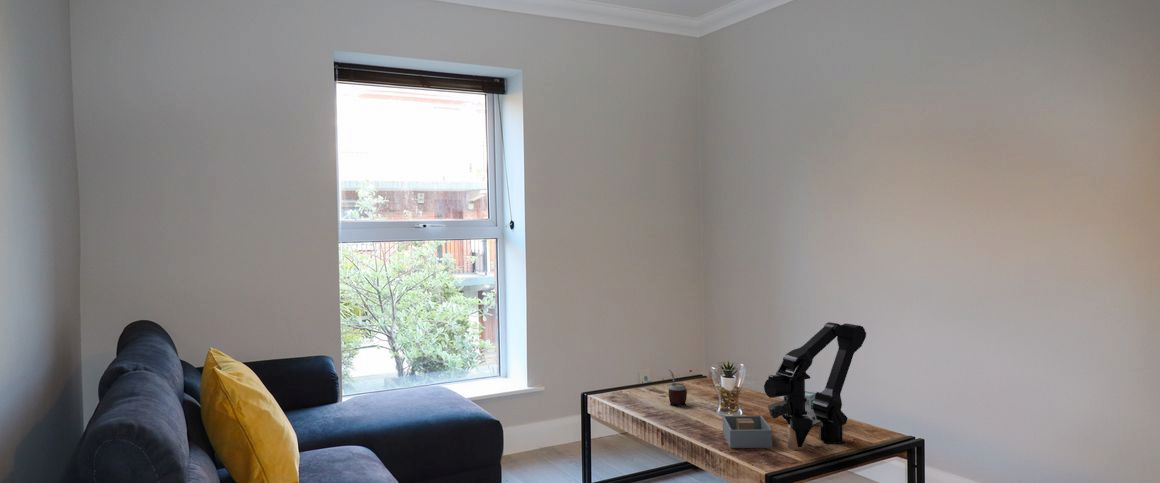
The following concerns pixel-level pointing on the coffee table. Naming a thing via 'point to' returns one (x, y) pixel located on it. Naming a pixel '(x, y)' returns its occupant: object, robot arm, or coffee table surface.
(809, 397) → the light bulb box
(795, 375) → the robot arm
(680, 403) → the mate gourd
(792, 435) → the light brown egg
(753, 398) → the coffee table surface
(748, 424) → the walnut cube
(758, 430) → the box
